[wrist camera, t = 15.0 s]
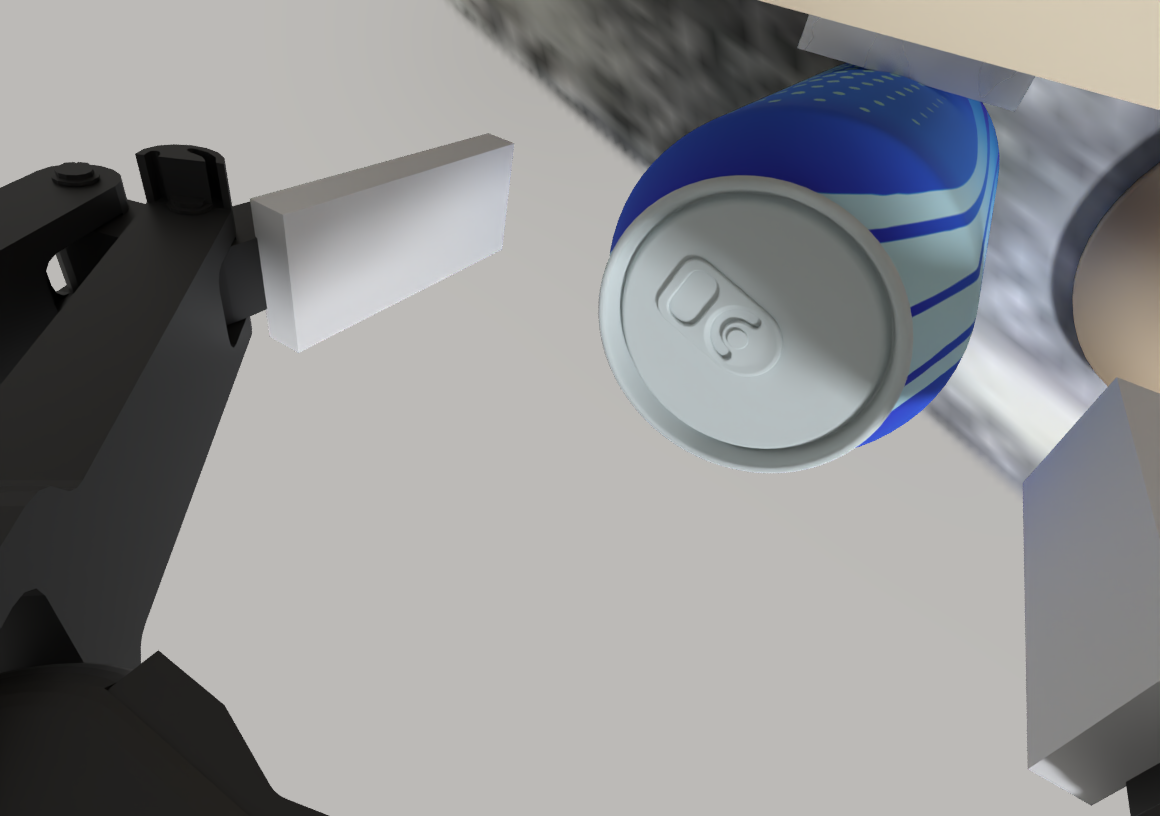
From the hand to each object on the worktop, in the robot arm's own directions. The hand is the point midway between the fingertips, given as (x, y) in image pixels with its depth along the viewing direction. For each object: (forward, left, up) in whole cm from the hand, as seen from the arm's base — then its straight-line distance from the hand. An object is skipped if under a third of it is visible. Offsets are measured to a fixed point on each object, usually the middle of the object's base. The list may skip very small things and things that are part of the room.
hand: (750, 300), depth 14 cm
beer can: (0, 0, -15) cm, 15 cm away
